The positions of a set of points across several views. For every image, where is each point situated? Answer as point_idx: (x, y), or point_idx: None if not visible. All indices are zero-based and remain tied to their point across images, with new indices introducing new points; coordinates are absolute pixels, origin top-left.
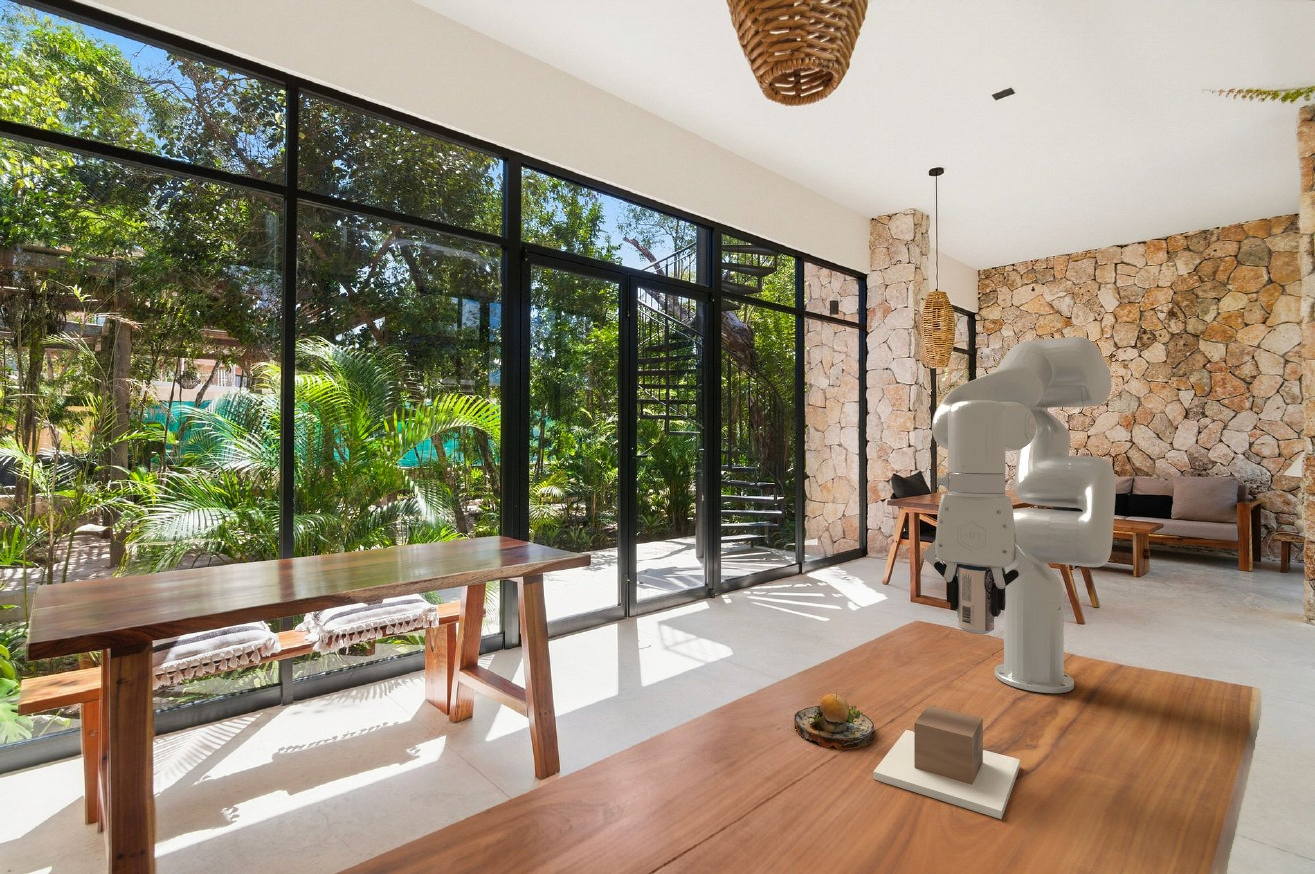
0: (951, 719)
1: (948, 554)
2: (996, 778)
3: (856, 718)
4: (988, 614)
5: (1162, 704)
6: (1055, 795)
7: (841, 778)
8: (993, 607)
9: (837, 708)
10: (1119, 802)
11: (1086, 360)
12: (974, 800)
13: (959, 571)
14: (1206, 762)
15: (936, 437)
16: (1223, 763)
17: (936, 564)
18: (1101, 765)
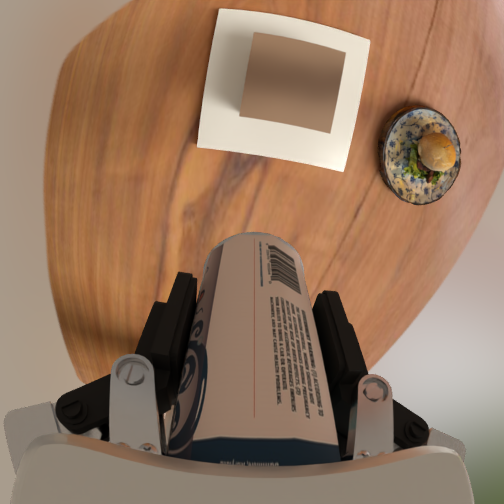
0: (289, 85)
1: (427, 488)
2: (224, 77)
3: (400, 188)
4: (208, 279)
5: (107, 352)
6: (161, 94)
7: (396, 37)
8: (184, 290)
9: (437, 137)
10: (105, 120)
11: None
12: (249, 15)
13: (334, 428)
14: (60, 256)
15: None
16: (52, 260)
17: (424, 433)
18: (120, 200)
